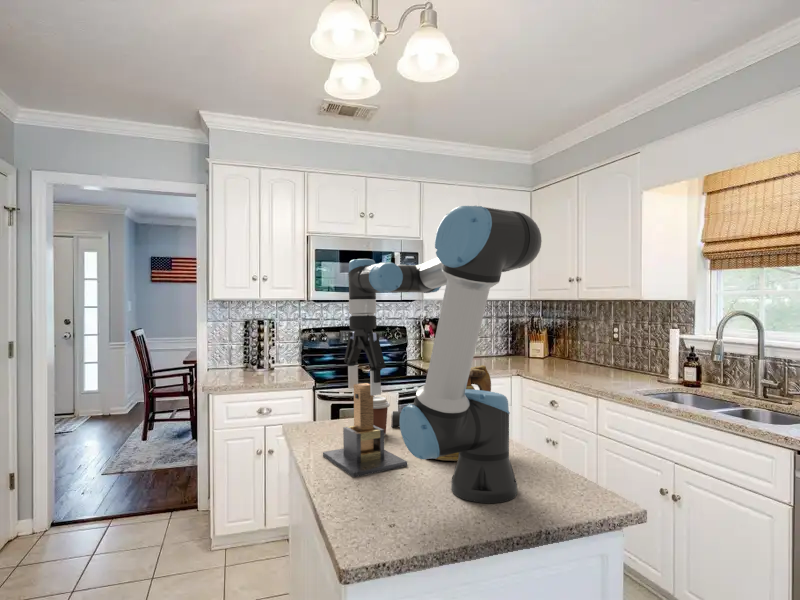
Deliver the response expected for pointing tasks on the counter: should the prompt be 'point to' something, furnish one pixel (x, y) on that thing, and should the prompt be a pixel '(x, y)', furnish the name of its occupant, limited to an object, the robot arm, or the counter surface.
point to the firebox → (365, 462)
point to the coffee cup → (380, 412)
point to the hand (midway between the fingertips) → (364, 391)
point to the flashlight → (395, 419)
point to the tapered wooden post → (363, 414)
